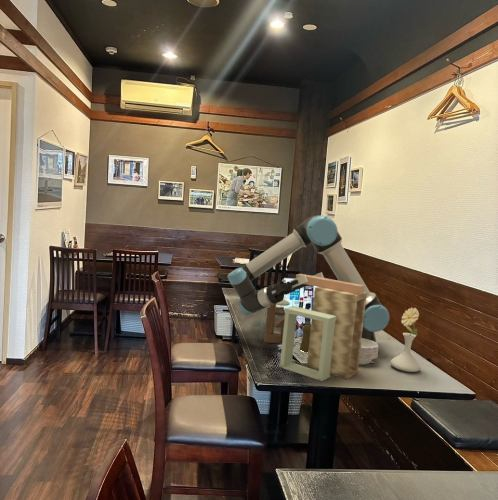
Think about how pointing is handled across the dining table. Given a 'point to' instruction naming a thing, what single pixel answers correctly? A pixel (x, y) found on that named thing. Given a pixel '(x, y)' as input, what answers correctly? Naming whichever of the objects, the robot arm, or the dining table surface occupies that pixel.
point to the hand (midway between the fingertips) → (314, 276)
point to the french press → (280, 313)
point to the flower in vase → (407, 344)
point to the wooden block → (269, 335)
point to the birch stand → (338, 330)
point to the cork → (305, 338)
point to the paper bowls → (368, 351)
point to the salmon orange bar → (334, 284)
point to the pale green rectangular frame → (325, 346)
